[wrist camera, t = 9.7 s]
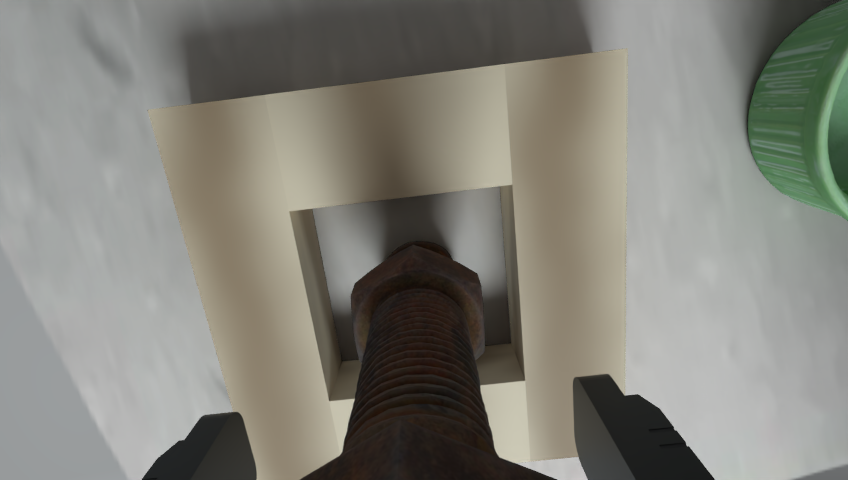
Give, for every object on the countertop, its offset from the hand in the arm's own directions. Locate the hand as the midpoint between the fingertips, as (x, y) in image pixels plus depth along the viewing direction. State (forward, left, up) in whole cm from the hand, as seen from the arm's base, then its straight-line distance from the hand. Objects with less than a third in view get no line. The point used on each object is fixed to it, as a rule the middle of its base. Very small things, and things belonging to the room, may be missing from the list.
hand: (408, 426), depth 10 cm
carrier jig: (0, 0, -10) cm, 10 cm away
